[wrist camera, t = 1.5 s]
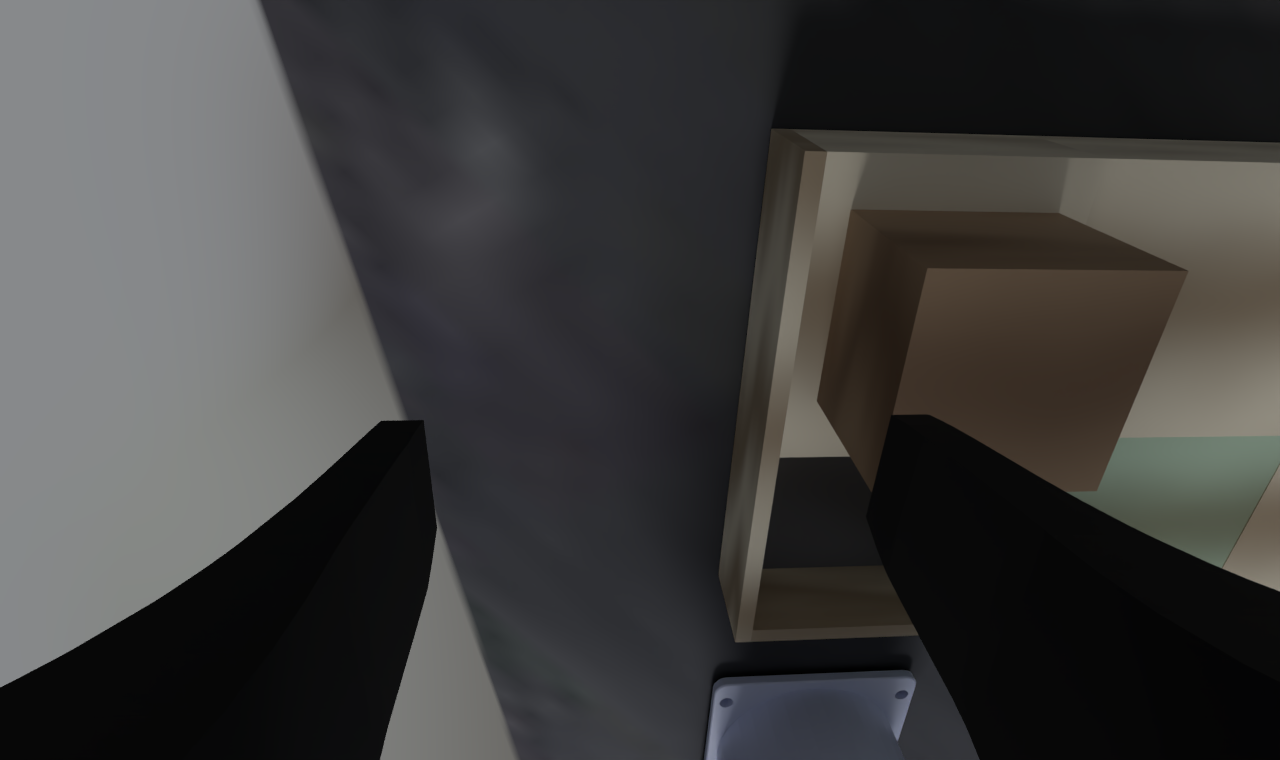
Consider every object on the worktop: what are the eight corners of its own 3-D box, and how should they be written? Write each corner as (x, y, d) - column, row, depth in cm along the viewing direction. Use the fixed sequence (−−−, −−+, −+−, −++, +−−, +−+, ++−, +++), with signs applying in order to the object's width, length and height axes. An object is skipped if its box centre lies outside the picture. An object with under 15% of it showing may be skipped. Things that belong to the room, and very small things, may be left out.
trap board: (1301, 557, 27) (1380, 617, 25) (718, 574, 25) (735, 642, 23) (1553, 150, 20) (1700, 173, 18) (771, 128, 18) (805, 151, 16)
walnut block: (1000, 399, 19) (1096, 491, 15) (816, 400, 19) (873, 495, 15) (1059, 213, 17) (1188, 271, 13) (850, 209, 16) (927, 268, 13)
